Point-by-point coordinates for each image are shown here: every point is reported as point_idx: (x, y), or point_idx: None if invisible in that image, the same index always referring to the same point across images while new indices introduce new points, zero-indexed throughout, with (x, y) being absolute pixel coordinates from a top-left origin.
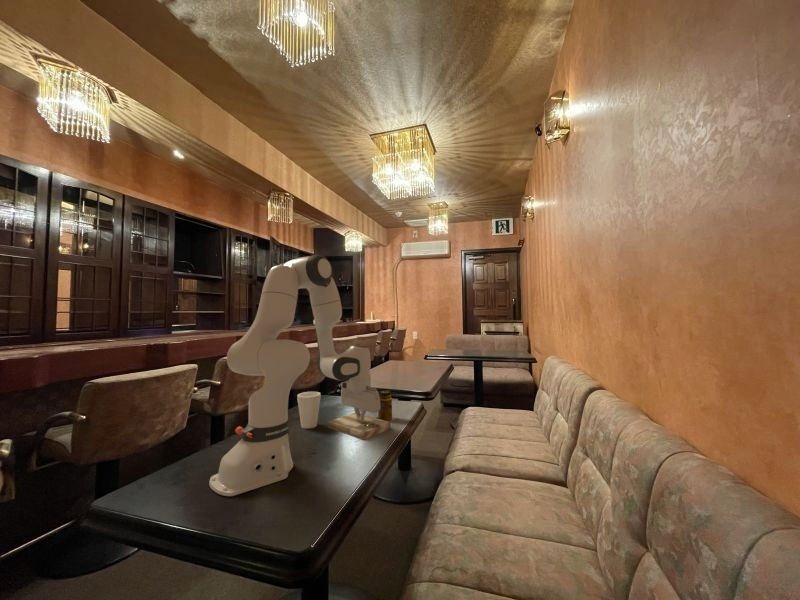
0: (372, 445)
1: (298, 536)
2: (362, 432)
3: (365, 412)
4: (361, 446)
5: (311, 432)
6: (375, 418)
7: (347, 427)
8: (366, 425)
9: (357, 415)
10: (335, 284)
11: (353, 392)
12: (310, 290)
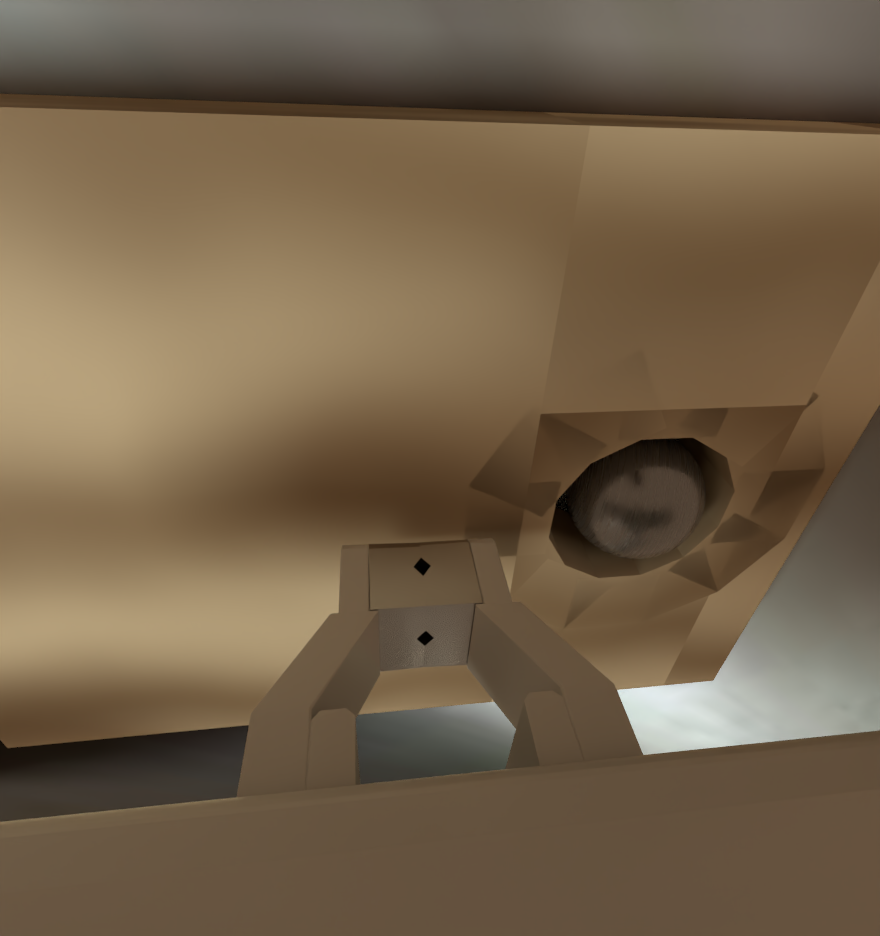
0: (812, 624)
1: None
2: (693, 676)
3: (581, 665)
4: (726, 674)
5: (100, 774)
6: (523, 145)
7: (428, 701)
8: (615, 554)
9: (386, 665)
10: None
11: None
12: None
